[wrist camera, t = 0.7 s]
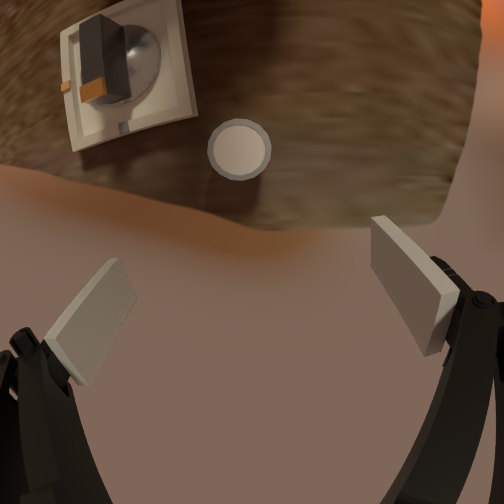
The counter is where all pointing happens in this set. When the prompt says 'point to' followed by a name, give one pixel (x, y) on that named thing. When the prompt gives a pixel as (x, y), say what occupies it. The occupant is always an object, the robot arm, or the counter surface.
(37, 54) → the counter surface
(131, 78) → the dial
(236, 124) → the shot glass
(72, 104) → the housing
